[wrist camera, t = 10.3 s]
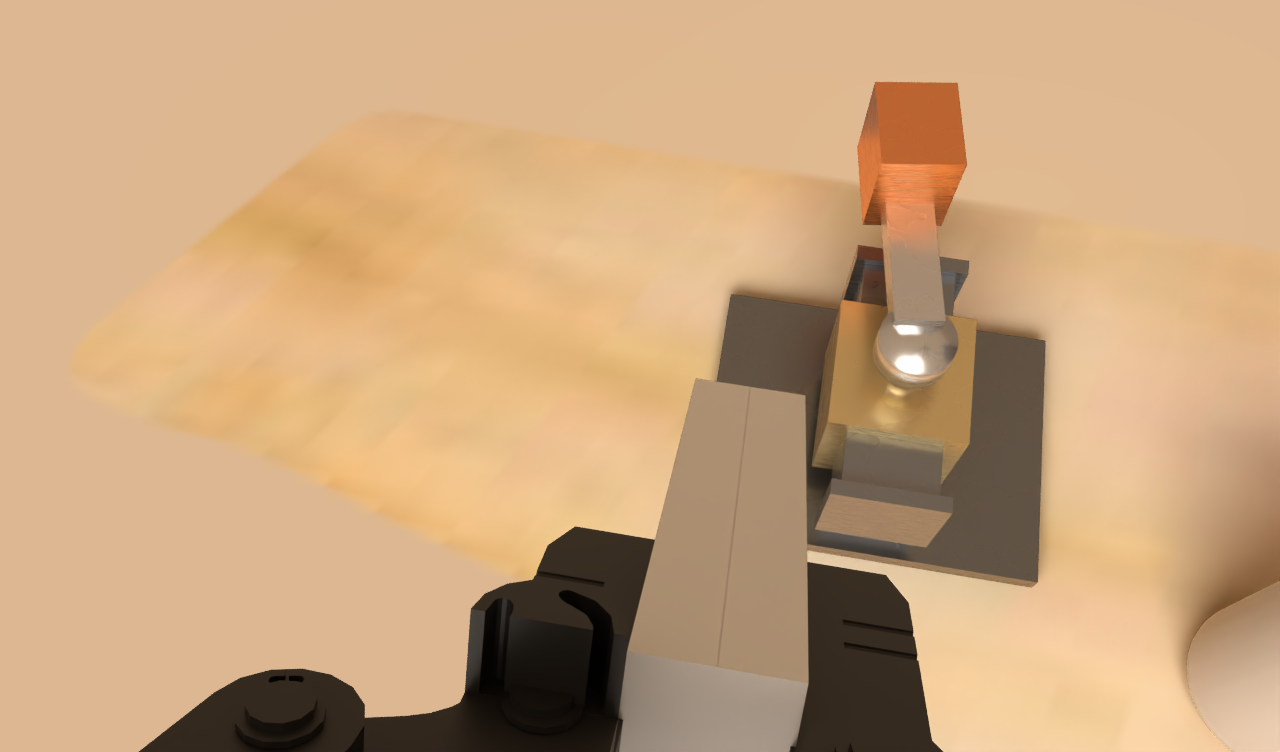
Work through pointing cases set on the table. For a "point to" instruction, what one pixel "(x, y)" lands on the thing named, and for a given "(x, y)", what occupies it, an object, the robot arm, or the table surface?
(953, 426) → the valve body
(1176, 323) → the table surface
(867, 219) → the valve lever
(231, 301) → the table surface
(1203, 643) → the beverage can
